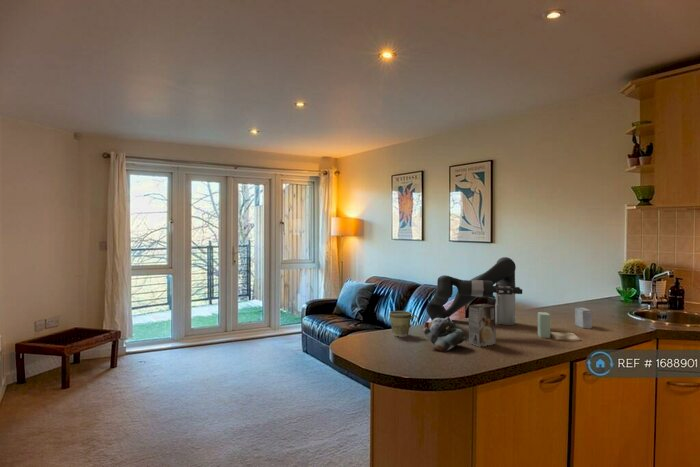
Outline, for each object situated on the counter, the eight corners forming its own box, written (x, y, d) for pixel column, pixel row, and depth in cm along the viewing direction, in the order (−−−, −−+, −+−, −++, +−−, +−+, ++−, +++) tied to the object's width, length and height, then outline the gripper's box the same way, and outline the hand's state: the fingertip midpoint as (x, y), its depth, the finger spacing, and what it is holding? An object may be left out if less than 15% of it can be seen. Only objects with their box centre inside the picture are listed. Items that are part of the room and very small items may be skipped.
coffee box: (484, 341, 184) (484, 303, 183) (496, 344, 178) (496, 305, 178) (468, 343, 179) (468, 304, 179) (479, 347, 174) (479, 307, 173)
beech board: (553, 339, 186) (553, 337, 186) (546, 333, 197) (546, 330, 197) (581, 340, 183) (581, 338, 183) (572, 334, 195) (572, 332, 195)
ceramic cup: (386, 336, 191) (386, 314, 191) (392, 331, 200) (392, 310, 200) (415, 339, 186) (415, 316, 186) (420, 334, 196) (420, 312, 195)
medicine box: (592, 328, 207) (592, 310, 207) (582, 328, 207) (582, 310, 207) (583, 325, 215) (583, 307, 215) (574, 324, 215) (574, 307, 215)
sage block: (540, 337, 190) (540, 314, 190) (537, 334, 196) (537, 312, 195) (550, 337, 189) (550, 315, 189) (547, 334, 195) (547, 312, 195)
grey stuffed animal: (442, 353, 164) (426, 319, 168) (429, 358, 175) (414, 325, 179) (473, 338, 169) (456, 306, 173) (459, 343, 180) (444, 312, 184)
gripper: (480, 294, 205) (518, 296, 201) (482, 299, 191) (523, 301, 187) (480, 278, 205) (518, 280, 201) (483, 282, 191) (524, 284, 187)
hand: (520, 290), depth 194 cm, fingers open, 5 cm apart
